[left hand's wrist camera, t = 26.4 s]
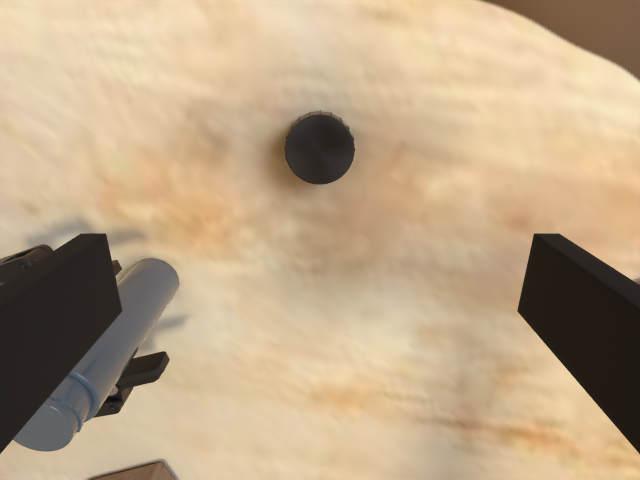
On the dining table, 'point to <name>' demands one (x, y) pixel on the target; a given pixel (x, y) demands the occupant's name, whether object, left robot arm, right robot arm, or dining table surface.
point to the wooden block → (142, 473)
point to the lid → (319, 148)
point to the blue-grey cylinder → (103, 358)
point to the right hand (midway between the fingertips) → (141, 318)
